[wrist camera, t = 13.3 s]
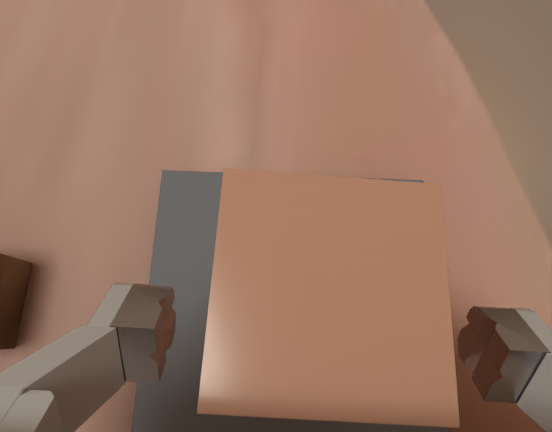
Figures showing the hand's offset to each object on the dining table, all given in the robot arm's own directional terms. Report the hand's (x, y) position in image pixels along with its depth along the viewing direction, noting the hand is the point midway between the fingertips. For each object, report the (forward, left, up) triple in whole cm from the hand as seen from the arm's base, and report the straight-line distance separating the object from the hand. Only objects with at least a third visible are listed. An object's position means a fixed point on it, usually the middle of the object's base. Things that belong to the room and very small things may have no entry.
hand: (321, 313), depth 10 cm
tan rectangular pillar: (0, 0, -8) cm, 8 cm away
